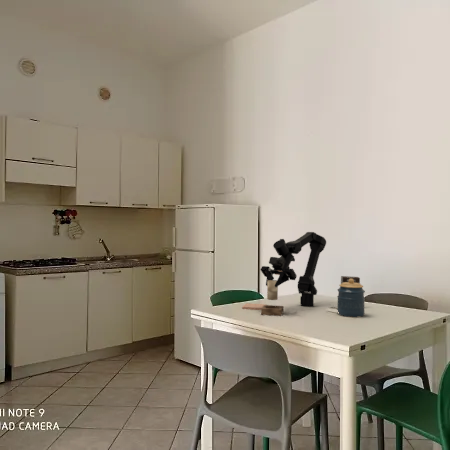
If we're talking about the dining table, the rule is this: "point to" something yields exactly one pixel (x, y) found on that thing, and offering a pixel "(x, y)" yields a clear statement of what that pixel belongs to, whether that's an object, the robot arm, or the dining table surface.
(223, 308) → the dining table surface
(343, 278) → the coffee box
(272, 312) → the walnut pocket block
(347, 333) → the dining table surface
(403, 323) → the dining table surface
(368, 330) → the dining table surface
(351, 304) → the canister
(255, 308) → the terracotta tile
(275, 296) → the birch peg
